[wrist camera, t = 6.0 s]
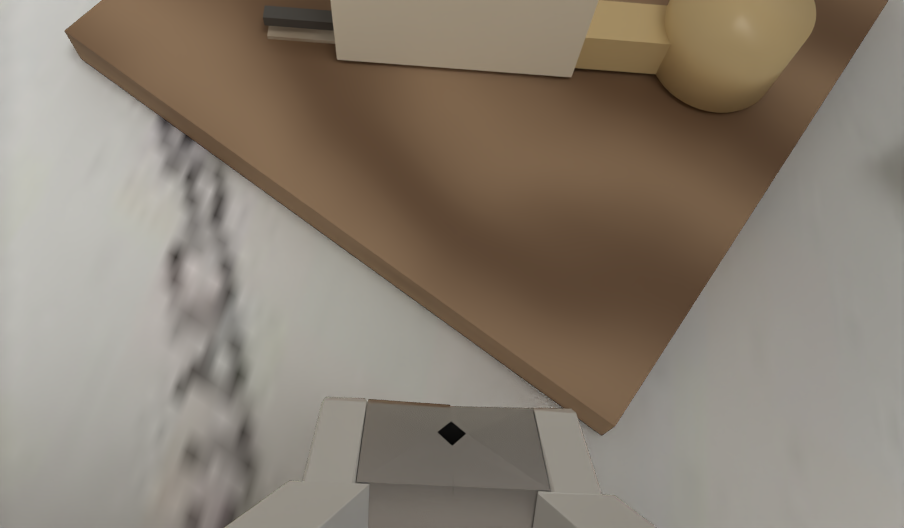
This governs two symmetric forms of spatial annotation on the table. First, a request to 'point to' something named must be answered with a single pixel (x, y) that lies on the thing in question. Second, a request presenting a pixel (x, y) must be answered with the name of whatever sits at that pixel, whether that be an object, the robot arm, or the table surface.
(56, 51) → the table surface
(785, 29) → the toy meat cleaver
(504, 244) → the brown wooden board
